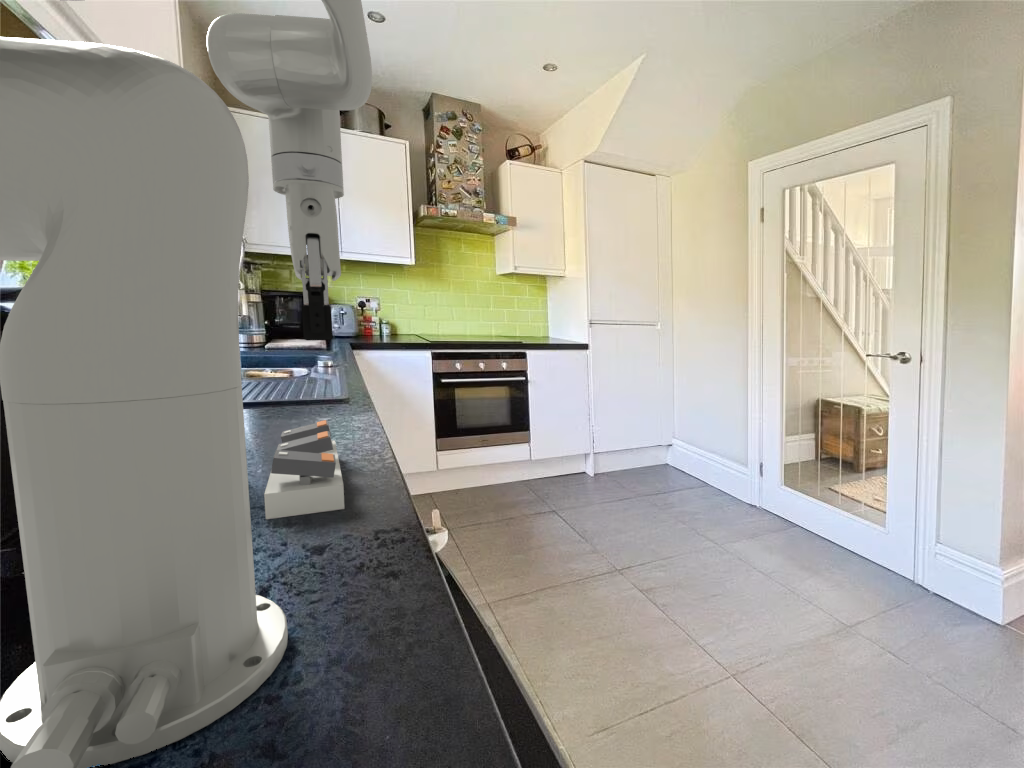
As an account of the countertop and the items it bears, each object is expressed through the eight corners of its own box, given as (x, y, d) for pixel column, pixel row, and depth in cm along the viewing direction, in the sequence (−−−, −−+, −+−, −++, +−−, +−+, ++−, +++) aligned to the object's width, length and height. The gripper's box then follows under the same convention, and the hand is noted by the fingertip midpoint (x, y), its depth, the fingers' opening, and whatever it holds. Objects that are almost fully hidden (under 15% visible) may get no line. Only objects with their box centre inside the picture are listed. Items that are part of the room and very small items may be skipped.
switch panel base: (344, 508, 51) (343, 476, 51) (265, 519, 48) (263, 485, 48) (335, 457, 71) (334, 434, 71) (280, 463, 68) (278, 438, 68)
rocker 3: (333, 477, 51) (336, 461, 51) (270, 473, 49) (273, 456, 49) (332, 468, 55) (334, 453, 55) (273, 464, 52) (276, 448, 52)
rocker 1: (331, 436, 66) (327, 423, 66) (283, 448, 64) (280, 435, 64) (330, 430, 69) (327, 419, 69) (285, 442, 67) (282, 430, 67)
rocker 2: (333, 449, 59) (329, 435, 58) (279, 463, 57) (276, 449, 56) (332, 442, 62) (328, 429, 62) (281, 456, 60) (278, 443, 60)
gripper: (347, 166, 50) (356, 343, 53) (339, 196, 64) (346, 335, 67) (267, 157, 48) (280, 345, 51) (276, 190, 61) (286, 336, 64)
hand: (318, 339), depth 59 cm, fingers closed
